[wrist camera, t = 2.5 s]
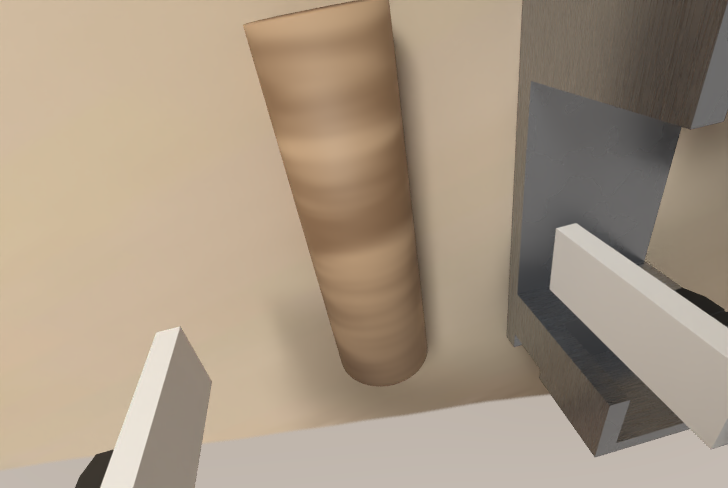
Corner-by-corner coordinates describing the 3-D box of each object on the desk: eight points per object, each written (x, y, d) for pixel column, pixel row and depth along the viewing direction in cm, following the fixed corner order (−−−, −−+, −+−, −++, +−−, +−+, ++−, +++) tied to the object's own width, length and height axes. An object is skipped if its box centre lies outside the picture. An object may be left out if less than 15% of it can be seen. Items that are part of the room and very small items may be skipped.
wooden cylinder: (250, 21, 15) (234, 29, 11) (374, -4, 16) (403, -5, 11) (337, 328, 25) (345, 395, 20) (414, 310, 25) (439, 373, 21)
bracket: (525, -49, 16) (756, -97, 8) (718, -87, 16) (1100, -165, 9) (506, 336, 28) (593, 461, 20) (618, 306, 28) (743, 417, 21)
